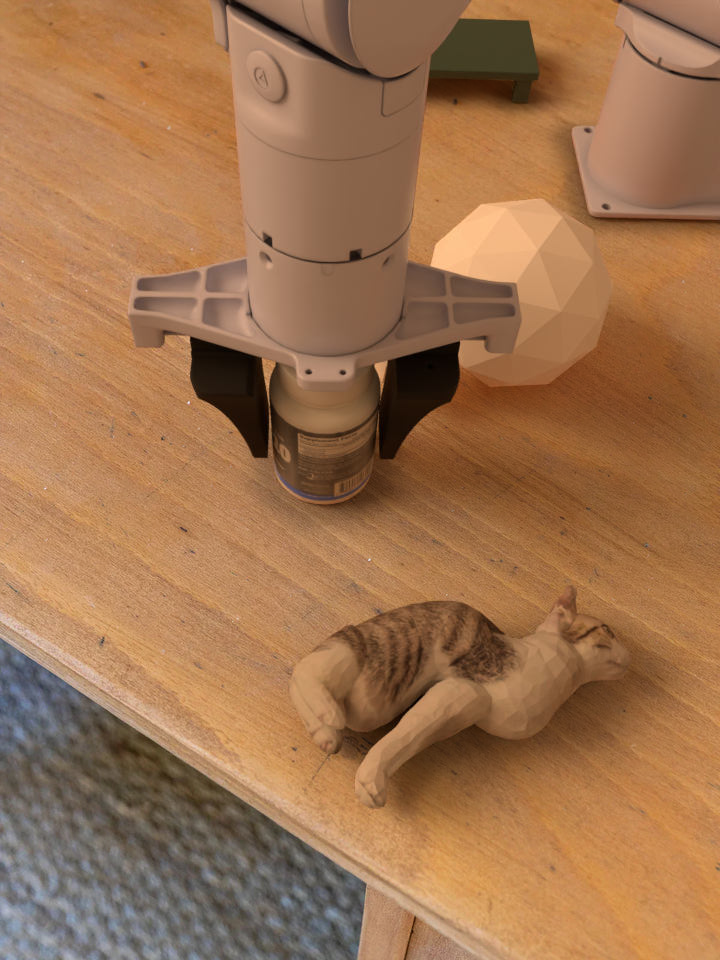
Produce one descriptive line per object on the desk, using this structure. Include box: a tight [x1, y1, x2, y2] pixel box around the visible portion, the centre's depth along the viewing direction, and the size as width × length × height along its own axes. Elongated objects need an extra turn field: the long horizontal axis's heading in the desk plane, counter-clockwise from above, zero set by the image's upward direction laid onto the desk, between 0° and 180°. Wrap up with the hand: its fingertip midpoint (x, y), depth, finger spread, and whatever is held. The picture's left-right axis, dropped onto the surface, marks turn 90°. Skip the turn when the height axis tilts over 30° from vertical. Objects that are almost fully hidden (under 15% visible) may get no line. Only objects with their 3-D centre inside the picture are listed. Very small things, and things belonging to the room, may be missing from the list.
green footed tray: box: [428, 17, 540, 104], centre depth 61 cm, size 10×6×2 cm, turn 91°
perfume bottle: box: [374, 197, 615, 388], centre depth 45 cm, size 9×9×12 cm
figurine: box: [287, 584, 633, 810], centre depth 36 cm, size 4×16×15 cm
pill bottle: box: [268, 362, 382, 505], centre depth 41 cm, size 5×5×8 cm
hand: (323, 440), depth 43 cm, fingers open, 5 cm apart
